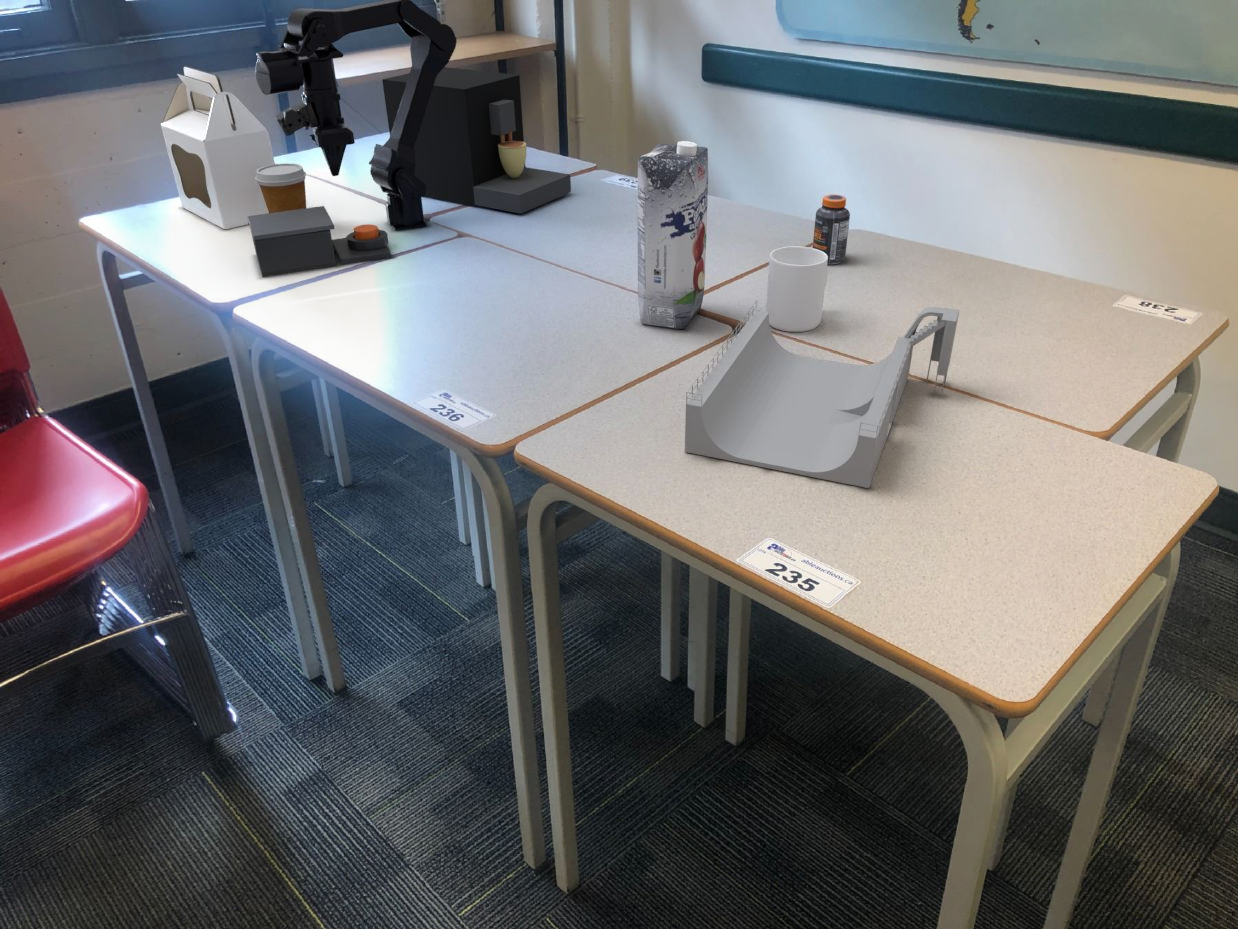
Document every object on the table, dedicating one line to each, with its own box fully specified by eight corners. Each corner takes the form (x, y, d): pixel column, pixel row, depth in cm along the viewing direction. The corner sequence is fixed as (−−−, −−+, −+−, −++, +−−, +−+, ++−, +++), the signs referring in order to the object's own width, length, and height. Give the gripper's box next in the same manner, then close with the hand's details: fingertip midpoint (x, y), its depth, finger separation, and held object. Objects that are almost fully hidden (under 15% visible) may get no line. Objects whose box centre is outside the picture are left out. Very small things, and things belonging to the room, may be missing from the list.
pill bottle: (805, 256, 173) (811, 193, 167) (834, 252, 175) (841, 190, 169) (821, 266, 168) (827, 203, 162) (851, 262, 170) (858, 199, 164)
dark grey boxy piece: (326, 246, 182) (320, 211, 178) (336, 266, 172) (330, 230, 169) (256, 255, 178) (248, 220, 174) (262, 277, 168) (254, 240, 165)
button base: (382, 238, 185) (380, 223, 184) (394, 257, 176) (392, 242, 174) (332, 245, 182) (329, 230, 181) (341, 265, 173) (339, 249, 171)
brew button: (376, 232, 180) (375, 223, 179) (381, 238, 177) (379, 229, 176) (353, 235, 179) (351, 226, 178) (357, 242, 175) (355, 233, 175)
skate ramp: (753, 353, 139) (757, 283, 133) (945, 383, 129) (959, 309, 124) (684, 452, 115) (686, 372, 109) (914, 498, 106) (929, 413, 100)
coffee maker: (520, 216, 196) (512, 95, 183) (397, 192, 212) (381, 79, 200) (571, 194, 209) (566, 79, 196) (450, 173, 225) (439, 66, 213)
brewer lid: (324, 209, 179) (323, 205, 178) (334, 228, 169) (333, 224, 168) (248, 220, 174) (247, 215, 174) (254, 240, 164) (253, 235, 164)
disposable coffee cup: (308, 237, 187) (296, 175, 180) (260, 237, 187) (246, 175, 181) (321, 222, 195) (311, 162, 188) (275, 222, 195) (263, 162, 189)
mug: (845, 316, 149) (853, 250, 144) (796, 338, 143) (803, 269, 137) (802, 301, 155) (808, 237, 149) (753, 321, 148) (757, 255, 143)
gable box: (181, 207, 205) (145, 68, 190) (240, 194, 212) (209, 60, 198) (225, 230, 191) (189, 82, 176) (286, 215, 199) (257, 72, 184)
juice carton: (632, 326, 147) (631, 147, 133) (655, 301, 156) (656, 131, 142) (687, 334, 145) (692, 152, 130) (707, 308, 153) (714, 135, 139)
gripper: (266, 82, 174) (283, 169, 182) (280, 100, 160) (298, 193, 168) (328, 77, 178) (342, 162, 186) (347, 94, 163) (362, 185, 172)
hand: (335, 175), depth 178 cm, fingers closed
